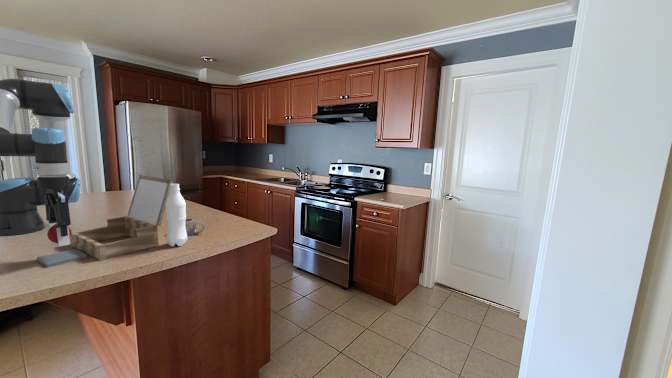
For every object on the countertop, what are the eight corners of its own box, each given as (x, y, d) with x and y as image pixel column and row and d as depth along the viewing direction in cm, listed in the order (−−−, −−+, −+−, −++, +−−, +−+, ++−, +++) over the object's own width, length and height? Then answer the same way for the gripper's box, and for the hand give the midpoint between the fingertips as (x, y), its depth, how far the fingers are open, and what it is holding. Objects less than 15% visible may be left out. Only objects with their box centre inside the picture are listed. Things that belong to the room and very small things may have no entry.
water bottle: (191, 243, 115) (189, 183, 111) (176, 248, 108) (173, 185, 104) (178, 240, 117) (175, 182, 113) (163, 246, 110) (159, 184, 107)
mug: (174, 235, 123) (173, 221, 122) (183, 231, 130) (182, 217, 129) (200, 237, 123) (199, 222, 122) (208, 232, 130) (207, 218, 129)
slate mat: (37, 260, 93) (36, 257, 93) (75, 251, 102) (75, 248, 102) (47, 267, 88) (47, 264, 88) (87, 257, 97) (86, 254, 97)
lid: (139, 175, 125) (142, 175, 126) (127, 216, 123) (130, 216, 124) (170, 179, 113) (173, 180, 114) (158, 225, 110) (161, 226, 111)
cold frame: (72, 245, 107) (70, 225, 106) (128, 233, 124) (126, 216, 123) (100, 260, 95) (98, 238, 94) (158, 244, 111) (157, 225, 110)
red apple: (57, 247, 91) (54, 224, 90) (43, 246, 92) (41, 222, 91) (77, 242, 97) (74, 219, 95) (64, 240, 98) (61, 218, 96)
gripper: (27, 174, 92) (36, 240, 96) (47, 179, 83) (55, 252, 86) (58, 173, 99) (65, 235, 102) (79, 177, 90) (86, 245, 93)
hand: (60, 243), depth 94 cm, fingers closed on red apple, 6 cm apart
